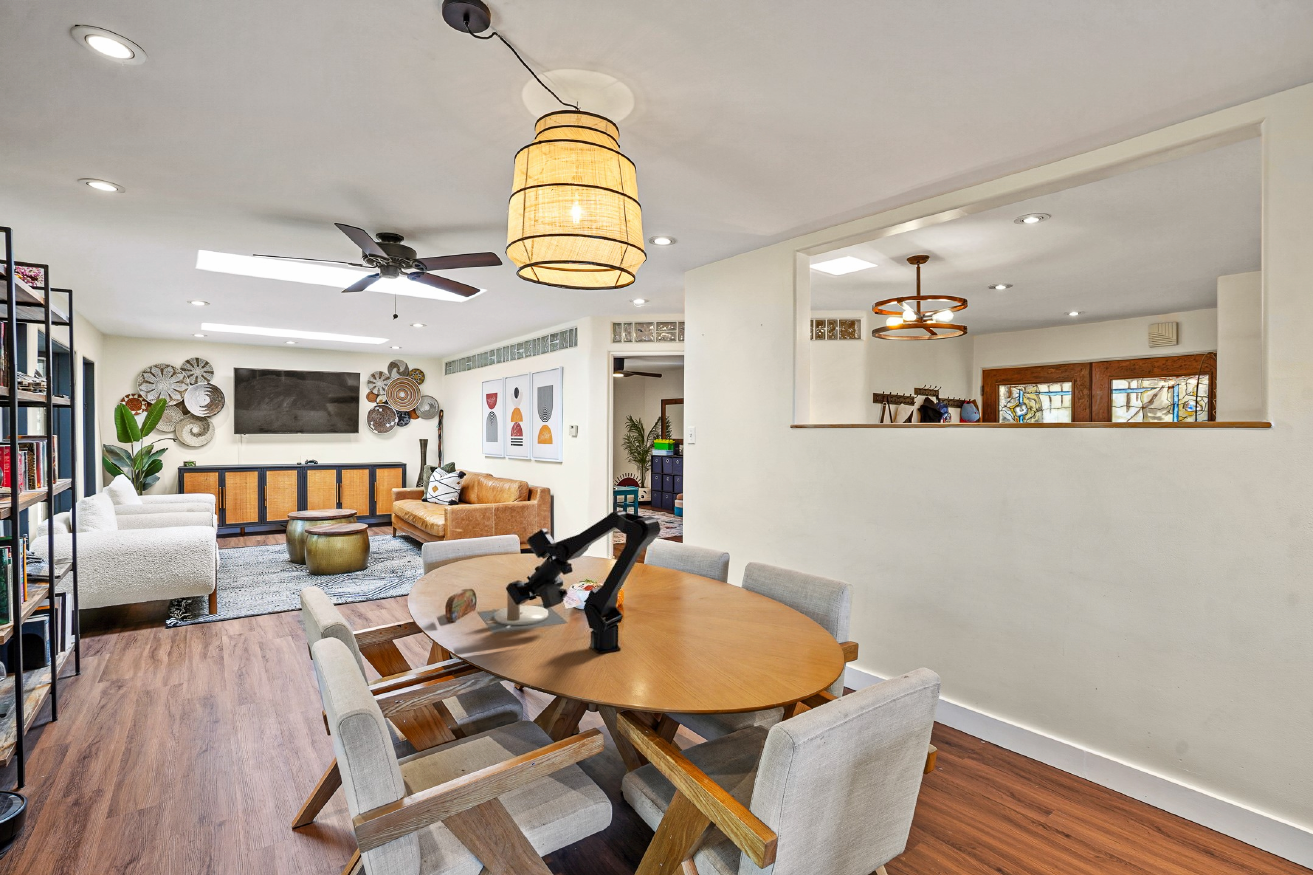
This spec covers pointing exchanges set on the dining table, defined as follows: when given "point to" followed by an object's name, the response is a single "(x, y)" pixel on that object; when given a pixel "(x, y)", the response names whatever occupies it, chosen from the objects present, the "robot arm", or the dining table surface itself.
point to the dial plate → (498, 627)
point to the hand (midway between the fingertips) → (520, 602)
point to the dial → (520, 614)
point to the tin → (460, 604)
